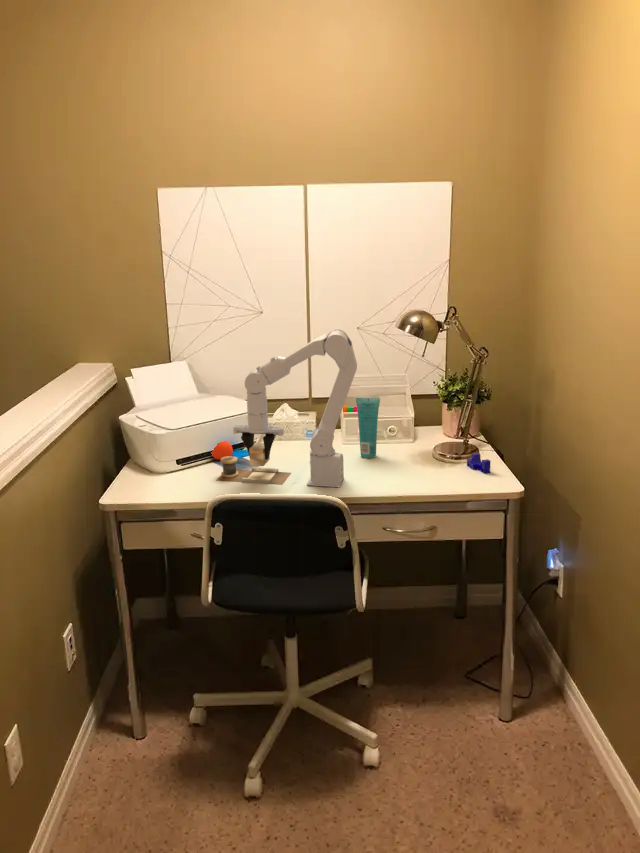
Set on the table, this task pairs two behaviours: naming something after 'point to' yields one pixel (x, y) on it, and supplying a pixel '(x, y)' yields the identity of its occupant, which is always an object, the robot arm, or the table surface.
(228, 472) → the spool
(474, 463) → the cable holder
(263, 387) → the robot arm
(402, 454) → the table surface
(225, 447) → the clementine
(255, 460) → the block
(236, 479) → the brown rectangular board
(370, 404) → the tube
